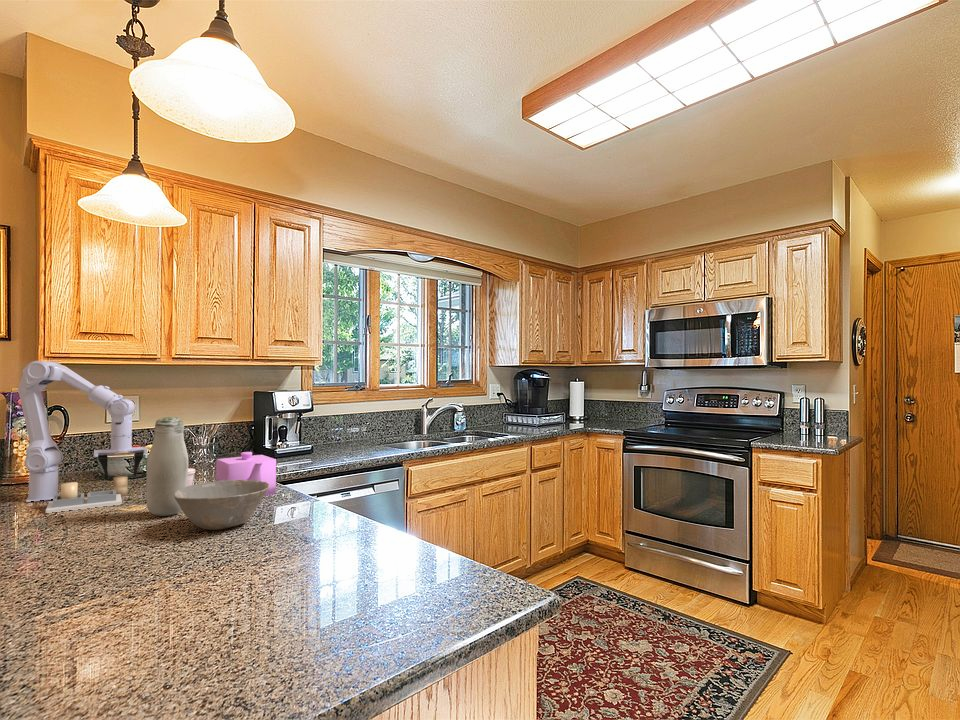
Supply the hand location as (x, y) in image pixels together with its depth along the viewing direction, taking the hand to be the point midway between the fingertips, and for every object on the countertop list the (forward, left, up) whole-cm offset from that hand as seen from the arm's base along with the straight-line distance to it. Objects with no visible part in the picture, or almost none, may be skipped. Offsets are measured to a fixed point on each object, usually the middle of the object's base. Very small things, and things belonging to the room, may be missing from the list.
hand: (120, 476), depth 172 cm
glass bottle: (+36, +10, -6) cm, 38 cm away
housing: (+9, -9, -6) cm, 14 cm away
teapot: (+22, +34, -6) cm, 41 cm away
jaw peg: (0, 0, -6) cm, 6 cm away
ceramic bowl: (+56, +21, -6) cm, 60 cm away
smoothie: (+20, +16, -6) cm, 26 cm away
